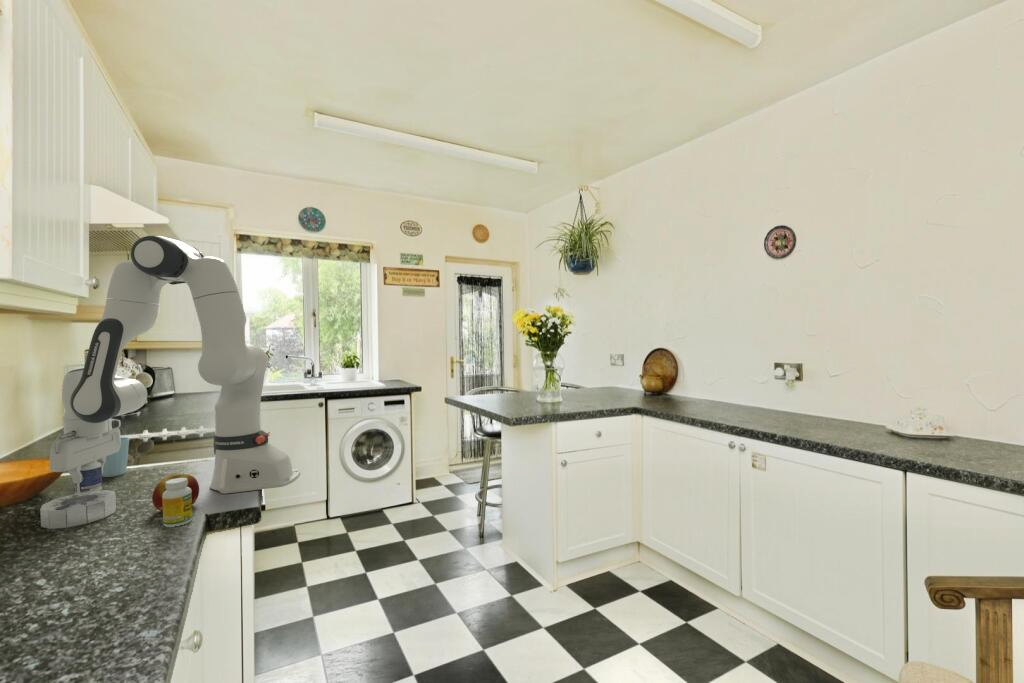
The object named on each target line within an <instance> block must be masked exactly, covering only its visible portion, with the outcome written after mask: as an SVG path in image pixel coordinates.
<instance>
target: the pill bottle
mask: <svg viewBox="0 0 1024 683" xmlns="http://www.w3.org/2000/svg"><path fill="white" fill-rule="evenodd" d="M97 460H98V457H97V455H96V456H93V460H92V462H90V463H87V464H84V465H82V466H81V470H80V472H81V474H82V475H84V481H83V482H81V483H75V484H74V487H75V488H74V490H75V494H77V493H83V492H89V491H101V490H103V476H102V468H101V463H100V462H97Z"/></svg>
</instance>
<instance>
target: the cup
mask: <svg viewBox="0 0 1024 683" xmlns="http://www.w3.org/2000/svg"><path fill="white" fill-rule="evenodd" d="M129 446H130V437H128V436H127V437H125V436H124V437H122V436H121V446H120V449H119V451H118V452H116V453H114V454H111V455H108V456H106V462H105V464H104V467H103V473H102V478H112V477H116V476H117V477H118V476H121V475H124V474H126V473H127V468H128V467H127V466H128V459H129V458H128V456H129Z"/></svg>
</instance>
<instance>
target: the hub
mask: <svg viewBox="0 0 1024 683" xmlns="http://www.w3.org/2000/svg"><path fill="white" fill-rule="evenodd" d="M116 498H117V497H116V491H115V490H106V489H101V490H100V491H89V492H83V493H77V494H76V493H73V494H69V495H66V496H62V497H57V498H54V499H52V500H50V501H48V502H46V503H43V504H42V505H41V506H40V508H39V510H40V511H39V512H40V527H41V528H45V529H48V530H49V529H50V530H51V529H53V530H54V529H66V528H72V527H77V526H83V525H86V524H90V523H93V522H96V521H99V520H102V519H105V518H107V517H109V516H111V515H112V514H114V513H116V509H117V505H116V503H117V502H116Z"/></svg>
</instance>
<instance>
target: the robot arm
mask: <svg viewBox="0 0 1024 683" xmlns="http://www.w3.org/2000/svg"><path fill="white" fill-rule="evenodd" d="M130 258H131V259H129V260H123V261H121V262H118V264H116V265H115V267H114V270H113V273H112V275H111V277H110V281H109V285H108V288H107V293H106V301H105V305H104V310H103V313H102V317H101V318H100V321H99V323H97V325H96V328H95V329H94V331H93V333H92V337H91V340H90V343H89V348H88V350H87V351H88V352H87V354H86V358H85V362H84V363H85V364H84V366H83V367H82V368H78V369H77V368H76V369H72V370H70V371H68V372H67V373H65V375H64V376H63V380H62V386H61V388H62V389H61V401H62V402H61V403H62V405H63V407H64V413H63V416H62V421H63V422H62V423H63V424H62V425H63V433H61V434H59V435H58V436H56V438H55V440H54V441H53V444H52V445H51V448H50V452H49V470H50V471H51V472H52V473H53V472H54V473H61V472H63V473H64V472H68V474H69V475H70V477H71V478H72V484H74V485H75V483H81V482H83V481H84V475H82V474H81V472H80V470H81V466H82V465H84V464H87V463H90V462H92V460H93V456H96V455H97V457H98V460H97V462H100V463H101V468H102V473H103V467H104V464H105V462H106V456H108V455H111V454H114V453H116V452H118V451H119V449H120V446H121V437H122V436H121V430H120V427H121V422H122V421H121V420H120V419H115V417H118V416H123V415H126V414H128V413H129V414H130V413H133V412H135V411H137V410H139V409H141V408H142V407H144V405H145V404H146V403H147V401H148V398H149V397H148V396H149V393H148V388H147V386H146V385H145V384H144V383H143V382H142V381H140V380H139V379H137V378H132V377H131V378H130V377H126V376H120V375H117V374H116V373H117V370H118V366H119V362H120V358H121V354H122V351H123V350H124V348H125V347H126V346H127V345H128V344H129V343H130V342H131V341H133V340H134V339H136V338H137V337H139V336H140V335H143V334H145V333H147V332H148V331H150V330H151V328H153V327H154V326H155V323H156V320H157V318H158V314H159V313H158V312H159V306H160V305H159V304H160V297H161V291H162V289H163V287H164V286H165V285H167V284H169V285H172V286H173V285H180V284H186V285H187V286H188V288H189V291H190V293H191V298H192V302H193V305H194V307H195V312H196V315H197V318H198V323H199V326H200V331H201V356H200V358H199V360H198V363H197V371H198V373H199V375H200V377H201V378H202V379H203V380H204V381H205V382H207V383H208V384H211V385H214V386H219V387H220V386H221V387H220V393H219V396H218V399H217V401H216V403H215V406H214V429H215V430H214V433H215V434H214V435H213V453H214V468H213V473H212V477H211V483H210V485H209V488H210V489H212V490H215V491H218V492H219V494H223V495H224V494H225V495H226V494H233V493H241V492H248V491H250V492H251V491H257V490H266V489H274V488H275V489H276V488H283V487H286V486H288V485H291V484H292V483H294V482H296V480H298V479H299V477H300V476H301V470H300V469H298V468H293V465H292V461H291V458H290V456H289V454H288V453H287V452H285V451H283V450H281V449H280V448H278V447H277V446H275V445H273V444H271V443H270V442H269V436H271V435H270V434H271V433H270V431H268V432H266V431H264V430H263V429H262V428H261V427H262V426H261V423H262V422H261V420H262V419H261V400H262V393H263V387H264V382H265V375H266V374H265V373H266V371H267V369H268V366H269V358H268V354H267V353H266V352H265V350H263V349H262V348H261V347H258V346H257V345H254V344H250V343H246V333H245V331H246V329H245V328H246V324H247V317H246V313H245V312H246V311H245V309H244V306H243V302H242V299H241V296H240V291H239V289H238V285H237V283H236V281H235V278H234V276H233V274H232V272H231V270H230V268H229V266H228V264H227V263H226V262H225V261H224V260H223V259H221V258H219V257H215V256H205V254H203V252H201V251H199V249H198V248H195V247H194V246H192V245H191V246H190V245H188V244H186V243H184V242H182V241H180V240H177V239H173V238H169V237H167V236H166V237H165V236H161V235H146V236H143V237H142V236H141V238H139V239H137V240H136V241H135V242H134V243H133V245H132V247H131V250H130Z"/></svg>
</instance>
